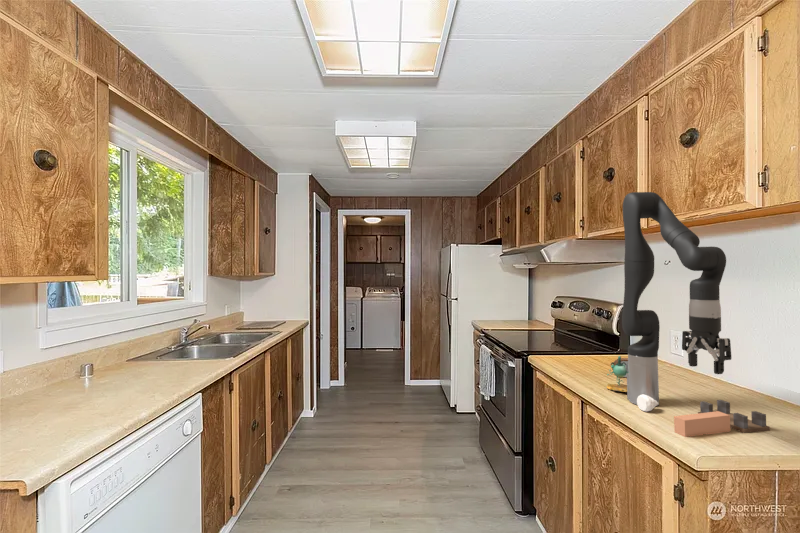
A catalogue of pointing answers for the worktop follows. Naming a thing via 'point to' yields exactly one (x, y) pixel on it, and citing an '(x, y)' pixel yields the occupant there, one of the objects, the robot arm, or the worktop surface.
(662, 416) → the worktop surface
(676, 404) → the worktop surface
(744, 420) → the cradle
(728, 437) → the worktop surface
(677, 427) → the terracotta clay brick
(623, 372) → the frog figurine
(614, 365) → the tin
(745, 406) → the worktop surface
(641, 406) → the garlic bulb
